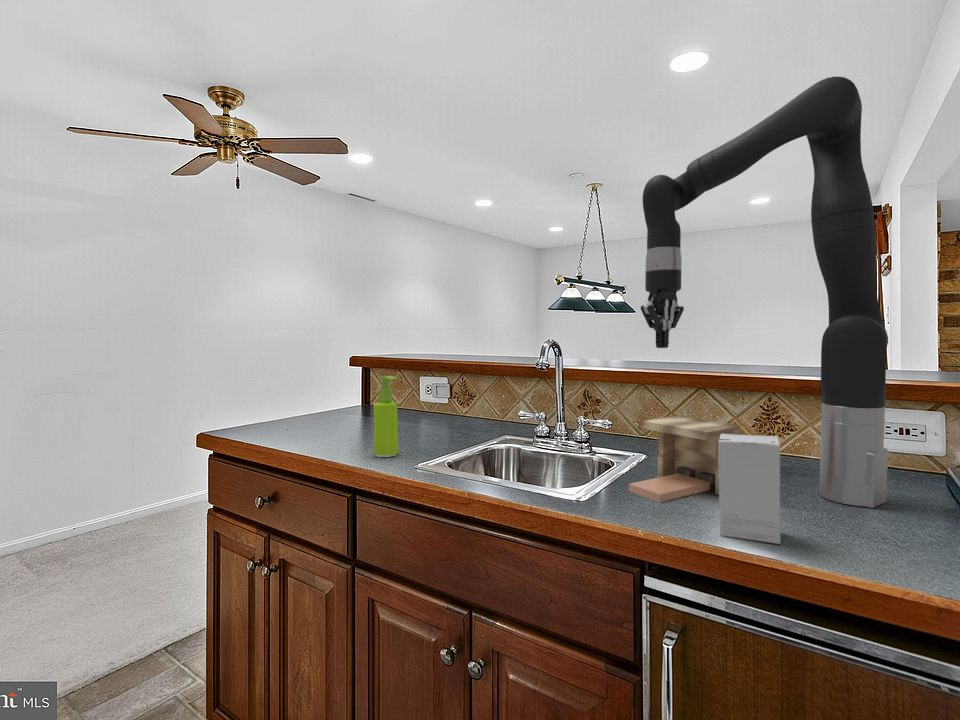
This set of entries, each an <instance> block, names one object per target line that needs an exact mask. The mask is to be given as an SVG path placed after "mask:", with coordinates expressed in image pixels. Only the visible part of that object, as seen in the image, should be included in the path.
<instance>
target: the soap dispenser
mask: <svg viewBox="0 0 960 720" xmlns="http://www.w3.org/2000/svg"><path fill="white" fill-rule="evenodd" d="M378 380H381V387H380V388H378V392H377V393H378V401H377V402H375V403H373V449H374V450H373V451H374V453H375V454H377V455H395V454H397V453H398V454H399V428H398V426H399V424H398V421H399V420H398V417H399V416H398V414H399V413H398V412H399V411H398V402H396V401H393V389H392V388H391V387H389V383H390V382H391V381H397V377H395V376H393V375H382V376H378ZM389 381H390V382H389ZM374 453H373V454H374Z"/></svg>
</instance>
